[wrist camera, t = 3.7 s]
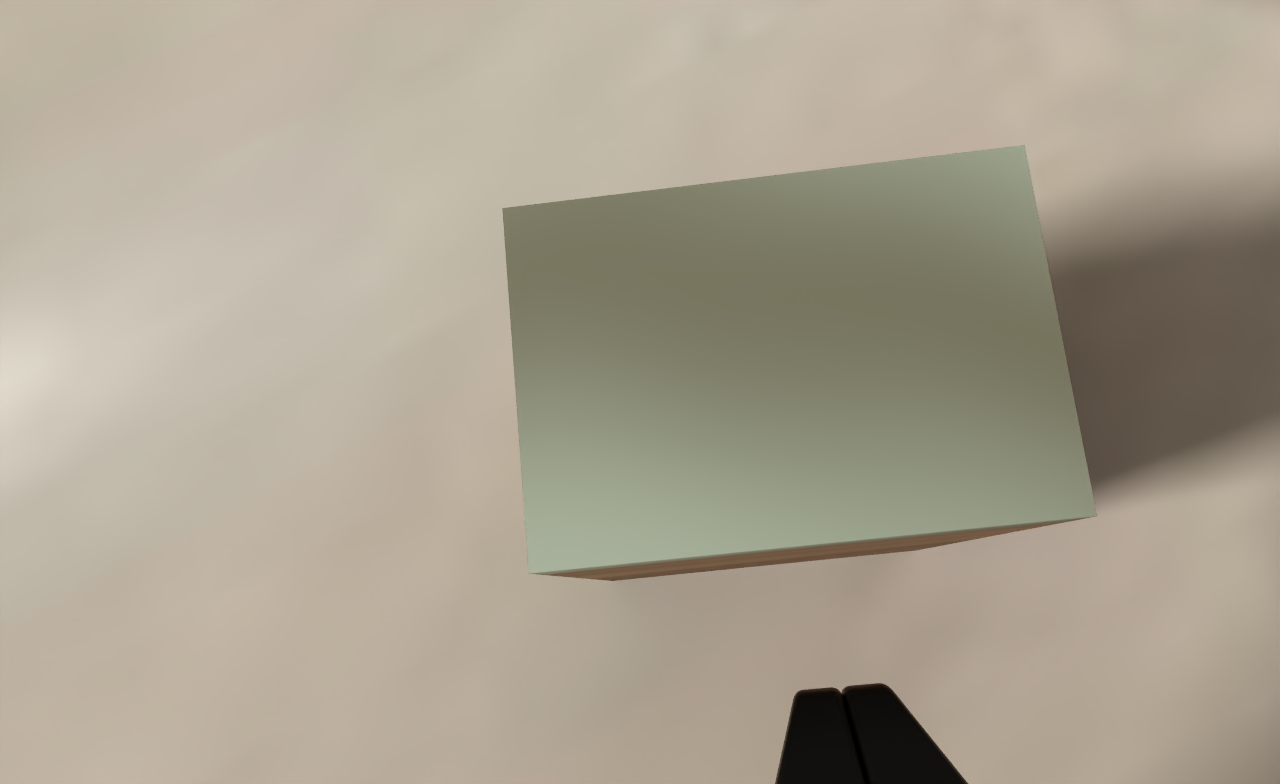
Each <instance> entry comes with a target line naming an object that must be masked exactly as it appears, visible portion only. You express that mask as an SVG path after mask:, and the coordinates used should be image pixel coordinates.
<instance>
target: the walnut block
mask: <svg viewBox="0 0 1280 784" xmlns="http://www.w3.org/2000/svg"><path fill="white" fill-rule="evenodd" d="M503 222H504V236H505V249H506V263H507V277H508V291H509V305H510V319H511V333H512V347H513V361H514V375H515V389H516V403H517V417H518V431H519V445H520V459H521V473H522V487H523V500H524V514H525V528H526V542H527V556H528V570H529V574H540V575H551V576H563V577H575V578H587V579H598V580H610V581H615V580H625V579H635V578H645V577H655V576H665V575H675V574H685V573H695V572H705V571H714V570H724V569H734V568H744V567H754V566H764V565H774V564H784V563H794V562H804V561H814V560H824V559H834V558H844V557H854V556H864V555H874V554H884V553H894V552H904V551H914V550H920V549H925V548H931V547H936V546H941V545H947V544H952V543H957V542H963V541H968V540H973V539H978V538H984V537H989V536H994V535H1000V534H1005V533H1010V532H1015V531H1021V530H1026V529H1031V528H1037V527H1042V526H1047V525H1052V524H1058V523H1063V522H1068V521H1074V520H1079V519H1084V518H1090V517H1095V516H1097V513H1096V508H1095V503H1094V498H1093V492H1092V487H1091V482H1090V477H1089V472H1088V467H1087V462H1086V457H1085V452H1084V446H1083V441H1082V436H1081V431H1080V426H1079V421H1078V416H1077V411H1076V406H1075V400H1074V395H1073V390H1072V385H1071V380H1070V375H1069V370H1068V365H1067V360H1066V354H1065V349H1064V344H1063V339H1062V334H1061V329H1060V324H1059V319H1058V314H1057V309H1056V303H1055V298H1054V293H1053V288H1052V283H1051V278H1050V273H1049V268H1048V263H1047V257H1046V252H1045V247H1044V242H1043V237H1042V232H1041V227H1040V222H1039V217H1038V211H1037V206H1036V201H1035V196H1034V191H1033V186H1032V181H1031V176H1030V171H1029V165H1028V160H1027V155H1026V150H1025V145H1022V146H1013V147H1005V148H997V149H988V150H980V151H972V152H964V153H955V154H947V155H939V156H931V157H922V158H914V159H906V160H898V161H889V162H881V163H873V164H865V165H856V166H848V167H840V168H831V169H823V170H815V171H807V172H798V173H790V174H782V175H774V176H765V177H757V178H749V179H741V180H732V181H724V182H716V183H708V184H699V185H691V186H683V187H674V188H666V189H658V190H650V191H641V192H633V193H625V194H617V195H608V196H600V197H592V198H584V199H575V200H567V201H559V202H550V203H542V204H534V205H526V206H517V207H509V208H503Z"/></svg>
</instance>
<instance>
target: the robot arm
mask: <svg viewBox="0 0 1280 784" xmlns="http://www.w3.org/2000/svg"><path fill="white" fill-rule="evenodd" d="M775 784H968V783H967V782H966V780H965V779H964V778H963V777H962V775H961V774H960V773H959V772H958V771H957V769H956V768H955V767H954V766H953V764H952V763H951V762H950V761H949V759H948V758H947V757H946V756H945V754H944V753H943V752H942V751H941V750H940V748H939V747H938V746H937V745H936V743H935V742H934V741H933V740H932V738H931V737H930V736H929V735H928V733H927V732H926V731H925V730H924V728H923V727H922V726H921V725H920V724H919V722H918V721H917V720H916V719H915V717H914V716H913V715H912V714H911V712H910V711H909V710H908V709H907V707H906V706H905V705H904V704H903V703H902V701H901V700H900V699H899V698H898V696H897V695H896V694H895V693H894V692H893V690H892V689H891V688H889V687H888V686H887V685H885V684H881V683H876V684H865V685H854V686H847V687H845V688H844V689H843V690H842V693H840V691H839V690H838V689H836V688H832V687H831V688H820V689H808V690H800V691H798V692H797V693H796V695H795V696H794V699H793V703H792V708H791V713H790V717H789V722H788V727H787V731H786V736H785V741H784V745H783V750H782V754H781V759H780V764H779V768H778V773H777V778H776V782H775Z"/></svg>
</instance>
